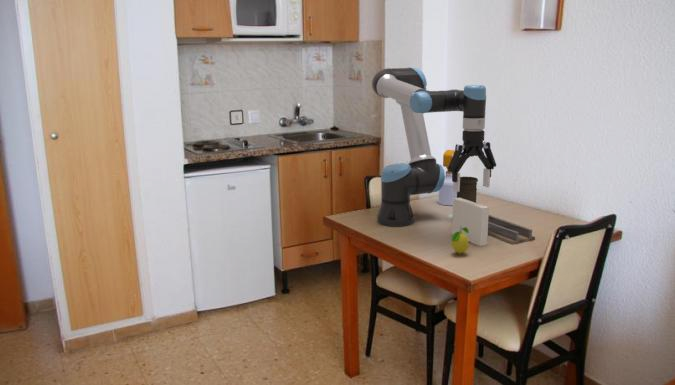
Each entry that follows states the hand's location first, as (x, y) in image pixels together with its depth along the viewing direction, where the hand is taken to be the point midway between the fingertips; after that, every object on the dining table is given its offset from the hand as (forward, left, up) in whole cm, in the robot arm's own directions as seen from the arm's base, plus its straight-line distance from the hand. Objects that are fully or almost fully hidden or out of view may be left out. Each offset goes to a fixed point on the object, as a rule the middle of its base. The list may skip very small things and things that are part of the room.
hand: (471, 188), depth 201 cm
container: (+14, +19, -19) cm, 31 cm away
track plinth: (+15, 0, -19) cm, 24 cm away
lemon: (-13, -11, -19) cm, 26 cm away
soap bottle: (+26, +46, -19) cm, 56 cm away
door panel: (0, 0, -19) cm, 19 cm away
